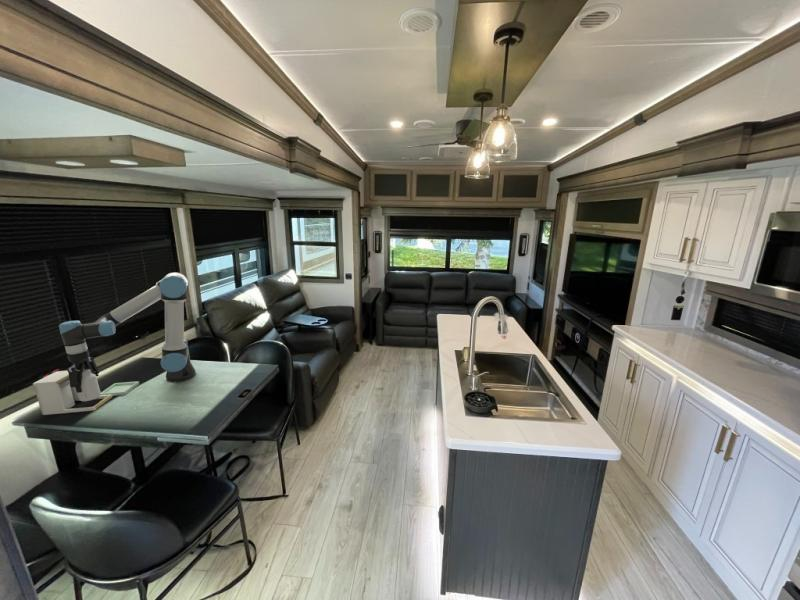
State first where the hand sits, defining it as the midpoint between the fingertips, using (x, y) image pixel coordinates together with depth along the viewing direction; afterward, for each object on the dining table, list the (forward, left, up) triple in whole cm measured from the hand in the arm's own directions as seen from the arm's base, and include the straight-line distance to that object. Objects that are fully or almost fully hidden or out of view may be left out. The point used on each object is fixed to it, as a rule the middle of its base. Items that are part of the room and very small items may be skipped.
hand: (89, 392), depth 163 cm
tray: (-5, -14, -6) cm, 16 cm away
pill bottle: (0, 0, -3) cm, 3 cm away
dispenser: (+6, 0, -6) cm, 9 cm away
